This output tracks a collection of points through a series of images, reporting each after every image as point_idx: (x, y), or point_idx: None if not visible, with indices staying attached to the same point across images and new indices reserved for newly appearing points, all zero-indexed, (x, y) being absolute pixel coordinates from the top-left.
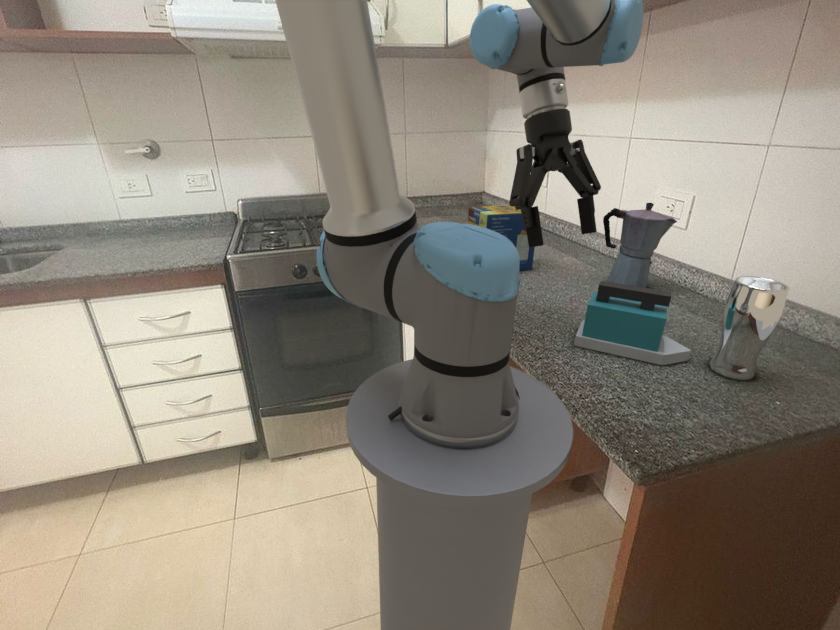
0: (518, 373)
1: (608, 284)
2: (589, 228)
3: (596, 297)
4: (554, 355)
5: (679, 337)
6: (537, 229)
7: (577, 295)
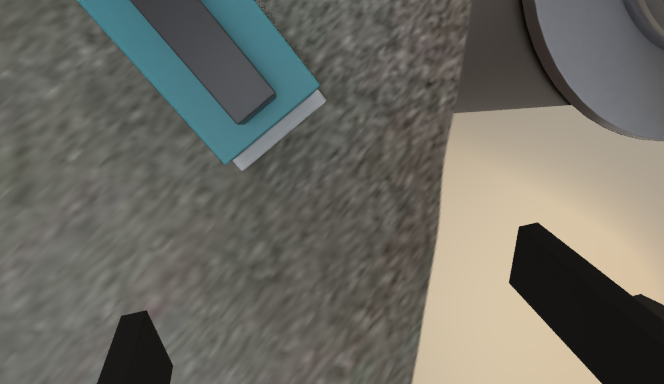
0: (548, 9)
1: (240, 81)
2: (151, 350)
3: (253, 120)
4: (393, 82)
5: (17, 31)
6: (600, 273)
7: (102, 349)
